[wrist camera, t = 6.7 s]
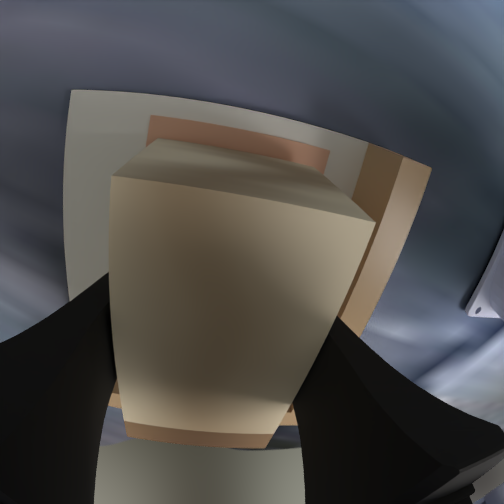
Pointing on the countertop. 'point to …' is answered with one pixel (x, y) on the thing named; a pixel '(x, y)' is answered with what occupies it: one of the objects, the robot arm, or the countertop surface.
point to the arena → (236, 138)
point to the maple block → (223, 288)
